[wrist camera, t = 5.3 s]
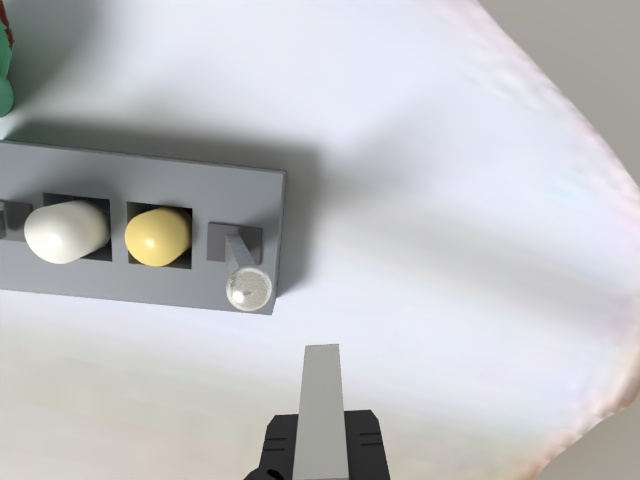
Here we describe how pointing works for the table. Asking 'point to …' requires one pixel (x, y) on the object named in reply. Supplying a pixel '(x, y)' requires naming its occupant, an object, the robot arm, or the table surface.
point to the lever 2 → (245, 277)
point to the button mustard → (159, 235)
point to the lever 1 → (2, 225)
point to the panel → (128, 202)
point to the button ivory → (67, 230)
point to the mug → (5, 62)
